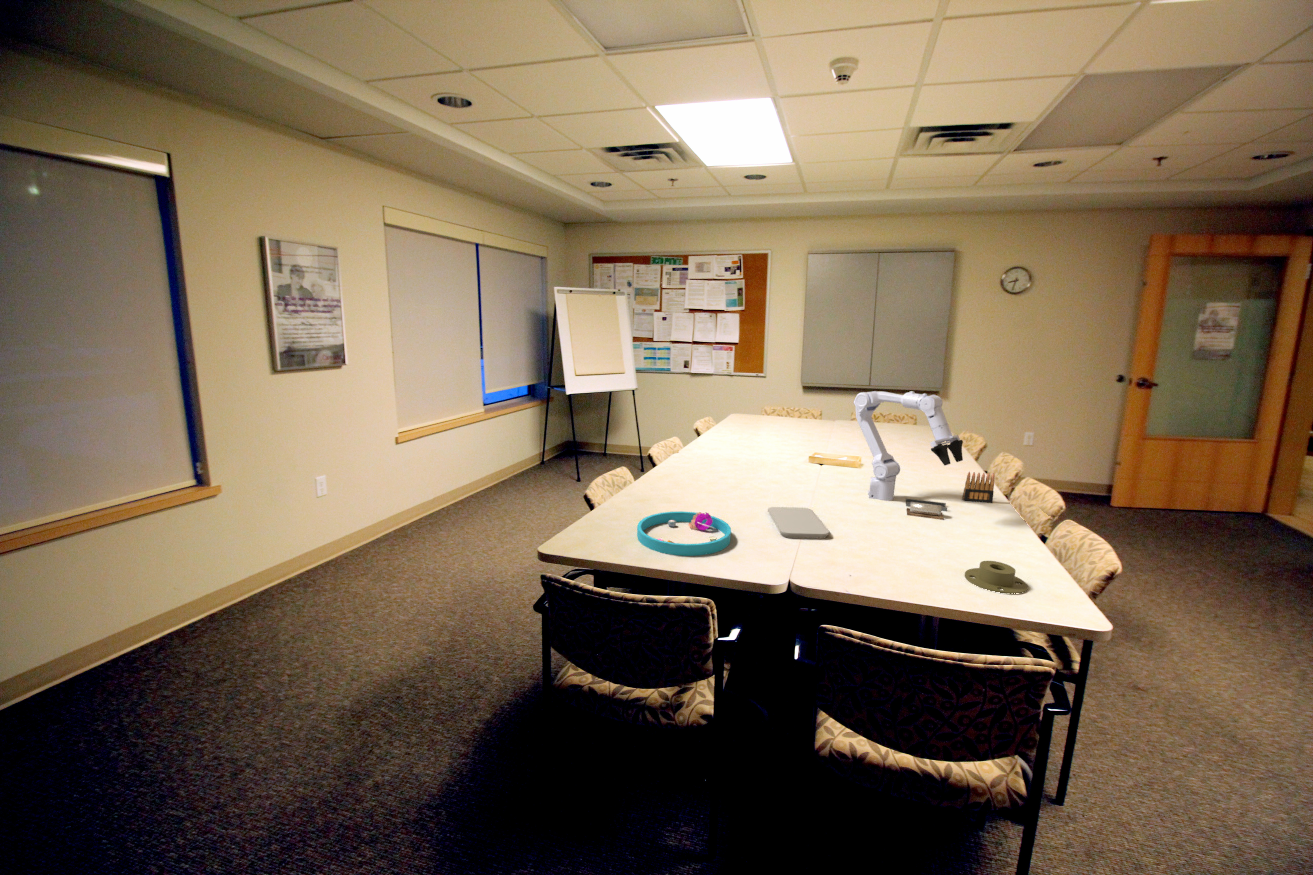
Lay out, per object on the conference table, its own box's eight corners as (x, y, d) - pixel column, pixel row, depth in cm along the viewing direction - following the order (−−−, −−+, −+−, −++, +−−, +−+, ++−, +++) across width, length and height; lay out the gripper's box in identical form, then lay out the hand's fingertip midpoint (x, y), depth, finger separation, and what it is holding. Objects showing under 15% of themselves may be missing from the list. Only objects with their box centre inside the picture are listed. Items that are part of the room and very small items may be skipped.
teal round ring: (746, 535, 189) (747, 518, 188) (700, 566, 165) (701, 546, 164) (670, 516, 206) (670, 500, 204) (618, 541, 181) (618, 523, 180)
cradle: (905, 508, 218) (906, 503, 218) (905, 503, 225) (905, 497, 224) (946, 513, 213) (947, 508, 213) (944, 508, 220) (945, 502, 219)
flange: (961, 552, 167) (973, 574, 153) (1020, 560, 162) (1037, 582, 148) (959, 567, 168) (971, 590, 154) (1017, 575, 163) (1034, 599, 149)
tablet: (809, 513, 211) (810, 507, 211) (830, 540, 186) (831, 534, 185) (765, 512, 211) (766, 506, 211) (780, 539, 186) (781, 532, 185)
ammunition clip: (990, 501, 229) (995, 472, 227) (992, 503, 228) (997, 474, 225) (962, 499, 231) (966, 470, 229) (963, 501, 229) (967, 472, 227)
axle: (909, 514, 209) (911, 503, 208) (909, 510, 213) (910, 500, 212) (940, 518, 206) (941, 507, 205) (939, 514, 209) (940, 504, 208)
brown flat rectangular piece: (906, 517, 208) (907, 513, 208) (906, 511, 215) (906, 507, 214) (943, 522, 204) (944, 518, 204) (941, 516, 210) (942, 512, 210)
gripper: (937, 426, 200) (951, 463, 197) (961, 421, 207) (975, 456, 205) (920, 432, 206) (934, 468, 203) (944, 427, 213) (957, 462, 211)
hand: (953, 463), depth 204 cm, fingers open, 7 cm apart
